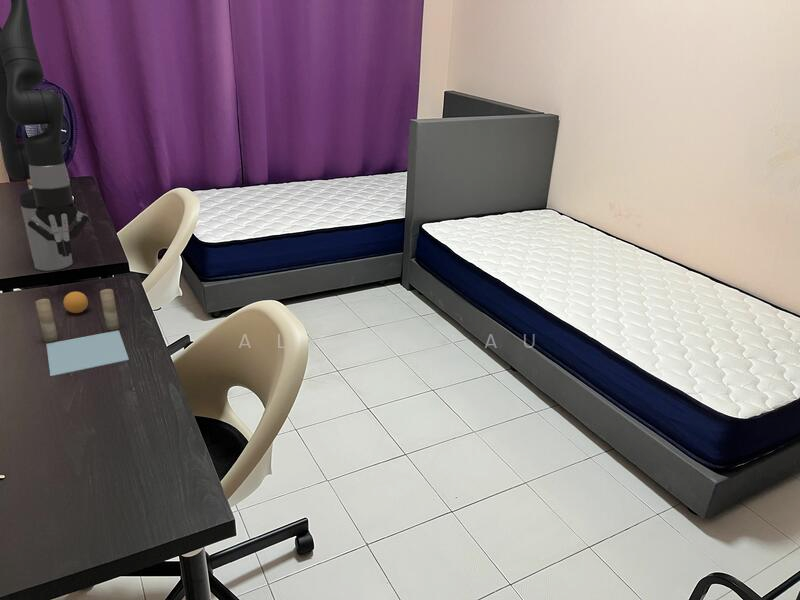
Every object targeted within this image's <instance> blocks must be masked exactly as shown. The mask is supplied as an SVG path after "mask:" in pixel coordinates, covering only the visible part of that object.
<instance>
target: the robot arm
mask: <svg viewBox="0 0 800 600" xmlns="http://www.w3.org/2000/svg"><path fill="white" fill-rule="evenodd" d="M30 16H31V15H30V11H29V5H28V0H10V11H9V13H8V16H7V19H6V20H5V23H4V25H3V27H1V26H0V149H1V153H2V159H3V165H4V168H5V172H6V174H7V175H8V176H9V178H10V179H12V180H13V181H14V180H15V181H23V180H24V181H25V180H26V181H27V179H31V184H32V187H33V188H32V189H30V190H29V189H27V190H25V191H23V192H22V193H21V194H20V195H19V198H18V200H19V205H20V208H21V212H22V217H23V221H24V225H25V230H26V234H27V238H28V243H29V248H30V252H31V257H32V260H33V265H34V269H36V270H38V271H45V272H46V271H57V270H62V269H66V268H68V267H70V266H71V265H72V264H74V263H73V257H72V253H73V252H72V251H73V250H72V244H71V240H72V239H76V238H77V237H78V236H79V235H80V233H81V231H83V228H84V227H85V225H86V224H87V222H88V221H89V215H88V214H87V213H83V212H81V211H79V210H78V207H76V205H75V204H74V198H73V192H72V186H71V179H70V177H69V172H68V168H67V166H66V163H65V162H66V161H65V158H64V152H63V146H62V129H63V128H62V127H63V120H64V103H63V100H62V98H61V97H60V96H59V94H57V92H56V91H53V90H50V89H39V90H38V89H37V90H36V89H35V90H34V87H35V86H38V85H40V84H41V83H42V82H43V81H44V80H45V79H44V78H45V75H44V71H43V68H42V67H43V66H42V63H41V61H40V57H39V54H38V51H37V48H36V44H35V40H34V36H33V31H32V23H31V17H30ZM33 125H46V128H45V130H44V131H43V132H41V133H37V134H35V135H31V136H27V137H26V138H25V139H24V141H20V142H18V141H16V133H17V129H18V126H33ZM75 218H76V221H77V222H76V223H75V225H74V226H73V228H72V229H71V230H70V231H69V226H70V225H71V224H72V223H73V221H74V219H75Z"/></svg>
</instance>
